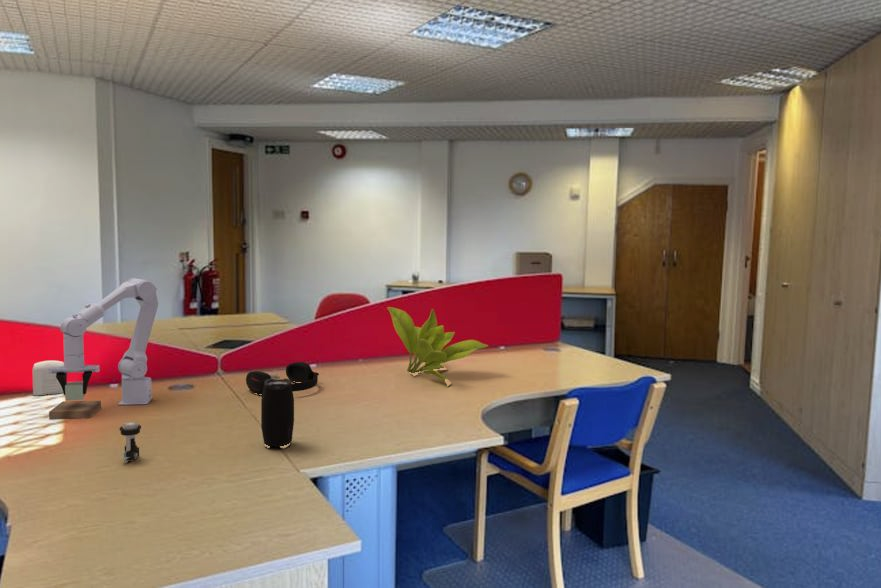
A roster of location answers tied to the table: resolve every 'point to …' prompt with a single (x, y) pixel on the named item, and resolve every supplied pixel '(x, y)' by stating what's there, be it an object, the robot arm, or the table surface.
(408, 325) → the artificial plant
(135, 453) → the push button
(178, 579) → the table surface
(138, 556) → the table surface
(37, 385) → the photo printer
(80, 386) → the sage wooden cube
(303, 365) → the headset
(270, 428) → the portable speaker
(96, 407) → the walnut riser block
